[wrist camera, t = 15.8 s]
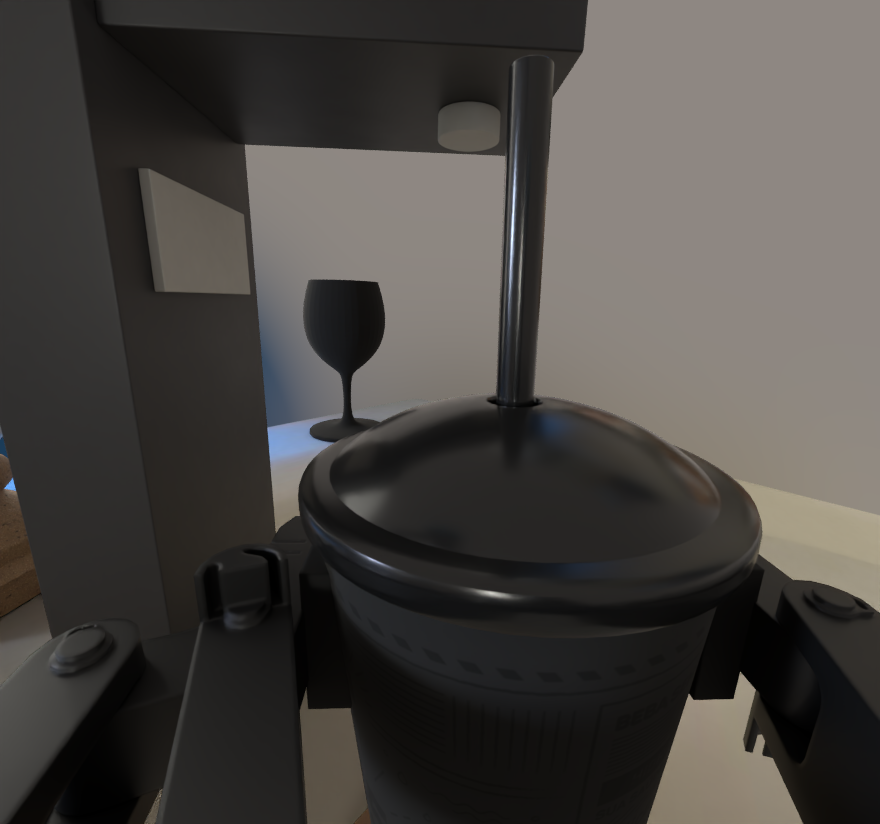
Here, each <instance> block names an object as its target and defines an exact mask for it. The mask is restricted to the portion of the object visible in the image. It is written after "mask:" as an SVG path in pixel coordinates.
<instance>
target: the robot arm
mask: <svg viewBox="0 0 880 824" xmlns="http://www.w3.org/2000/svg"><path fill="white" fill-rule="evenodd" d="M193 577H194V584H195V591H196V598H197V605H198V612H199V619H200V625H199V626H197V627H194V628H191V629H188V630H184V631H181V632H177V633H173V634H169V635H164V636H160V637H156V638H152V639H147V640H143V641H141V636H140V632H139V627H138V625H137V624H136V623H134V622H132V621H131V620H129V619H121V618H108V619H103V620H97V621H92V622H89V623H85V624H83V625H79V626H77V627H74V628H72V629H70V630H68V631H66V632H64V633H62V634H60V635H59V636H57V637H55V638H53V639H51V640H50V641H48V642H47V643H45V644H44V645H43V646H42V647H40V648H39V649H38V650H37V651H35V652H34V653H33V654H32V655H30V656H29V657H28V658H27V659H26V660H25V661H24V662H23V663H22V664H21V665H20V666H19V667H18V668H17V669H16V670H15V671H14V672H13V673H12V674H11V675H10V676H9V677H8V678H7V679H6V680H5V681H4V682H3V683H2V684H1V685H0V824H144V823H145V820H146V818H147V816H148V814H149V812H150V810H151V807H152V805H153V803H154V801H155V799H156V797H157V794H158V792H159V790H160V789H162V788H163V791H162V796H161V800H160V805H159V809H158V814H157V818H156V823H155V824H307V813H306V798H305V783H304V768H303V753H302V738H301V723H300V708H301V704H302V701H303V697H304V694H305V691H306V687H307V699H308V709H328V708H352V702H351V695H350V690H349V684H348V679H347V673H346V668H345V662H344V656H343V651H342V645H341V639H340V634H339V628H338V622H337V617H336V611H335V606H334V600H333V594H332V589H331V583H330V577H329V573H328V570H327V567H326V564H325V561H324V560H323V558H322V557H321V556H320V555H319V554H318V553H317V552H316V550H315V549H314V547H313V545H312V544H311V543H310V541H309V539H308V537H307V535H306V534H305V531H304V528H303V526H302V523H301V517H300V516H295V517H294V518H292V519H291V520H290V521H288V522H287V523H285V524H284V525H283V526H281V527H280V528H279V530H278V531H277V533H276V535H275V536H274V538H273V539H272V543H270V544H263V543H256V544H244V545H240V546H236V547H232V548H228V549H226V550H224V551H221V552H219V553H217V554H215V555H213V556H211V557H210V558H208V559H207V560H206V561H205V562H203V563H202V564H201V565H200V566H199V567H198V569H197V570H196V572H195V574H194V575H193ZM740 672H741V673H742V674H743V675H744V676H745V677H746V679H747V680H748V681H749V682H750V683H751V684H752V686H753V687H754V688H755V689H756V692H755V696H754V699H753V703H752V707H751V711H750V715H749V719H748V723H747V727H746V731H745V734H744V738H743V741H744V746H745V751H747V752H751V753H753V749H754V746H755V742H756V738H757V735H759V734H762V735H763V737H764V740H765V744H764V748H763V753H762V754H763V756H767V757H771V758H773V759H774V761H775V763H776V766H777V768H778V770H779V772H780V774H781V776H782V779H783V781H784V783H785V785H786V787H787V789H788V792H789V794H790V796H791V798H792V800H793V802H794V805H795V807H796V809H797V811H798V813H799V815H800V818H801V820H802V822H803V824H880V613H879V612H878V611H876V610H875V609H874V608H872V607H871V606H870V605H868V604H867V603H866V602H864V601H863V600H862V599H860V598H857V597H855V596H853V595H851V594H849V593H847V592H845V591H842V590H839V589H837V588H834V587H831V586H829V585H825V584H821V583H817V582H812V581H802V580H792V579H791V578H790V577H788V576H787V575H786V574H784V573H783V572H782V571H780V570H779V569H778V568H776V567H775V566H774V565H772V564H771V563H770V562H768V561H767V560H766V559H764V558H763V557H762V556H760V555H759V554H758V557H757V561H756V564H755V567H754V569H753V570H752V572H751V574H750V576H749V577H748V579H747V580H746V581H745V582H744V583H743V585H742V586H741V587H740V588H739V589H738V590H737V591H736V592H735V593H734V594H733V595H732V596H731V597H729V598H728V599H727V600H725V601H724V602H723V603H721V604H720V605H718V606H717V608H716V611H715V614H714V617H713V620H712V623H711V626H710V629H709V632H708V635H707V638H706V642H705V645H704V648H703V651H702V654H701V657H700V660H699V663H698V666H697V669H696V672H695V675H694V679H693V682H692V685H691V688H690V691H689V694H690V695H691V697H692V698H693V700H711V699H733V698H734V694H735V690H736V686H737V682H738V678H739V674H740Z"/></svg>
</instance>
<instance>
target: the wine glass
mask: <svg viewBox="0 0 880 824" xmlns="http://www.w3.org/2000/svg"><path fill="white" fill-rule="evenodd" d="M303 319H304V328H305V332H306V336H307V339H308V341H309V343H310V345H311V346H312V348H313V349H314V351H315V352H316V353H317V354H318V356H319V357H320V358H321V359H322V360H324V361H325V362H326V363H327V364H328V365H330V366H331V367H332V368H334V369H335V370H336V371H338V372H339V373H340V375H341V378H342V384H343V395H344V412H343V416H342V418H341V419H333V420H327V421H323V422H320V423H317V424H315V425H313V426H312V427H311V428H310V434H311V435H312V436H313V437H314V438H316V439H319V440H323V441H330V442H337V441H339V440H341V439H343V438H345V437H347V436H350V435H352V434H354V433H357V432H360V431H362V430H365V429H368V428H371V427H373V426H375V425H377V424H378V423H380V422H378V421H374V420H370V419H362V418H354V417H353V415H352V409H351V380H352V375H353V373H354V372H355V371H356V370H357V369H359V368H360V367H361V366H363V365H364V364H365V363H366V362H367V361H368V360H369V359H370V358H371V357H372V356H373V355H374V353H375V352H376V351H377V349H378V347H379V346H380V344H381V341H382V338H383V334H384V328H385V312H384V305H383V300H382V296H381V292H380V288H379V285H378V283H377V282H368V281H354V280H309V281H308V285H307V289H306V294H305V299H304V308H303Z"/></svg>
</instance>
